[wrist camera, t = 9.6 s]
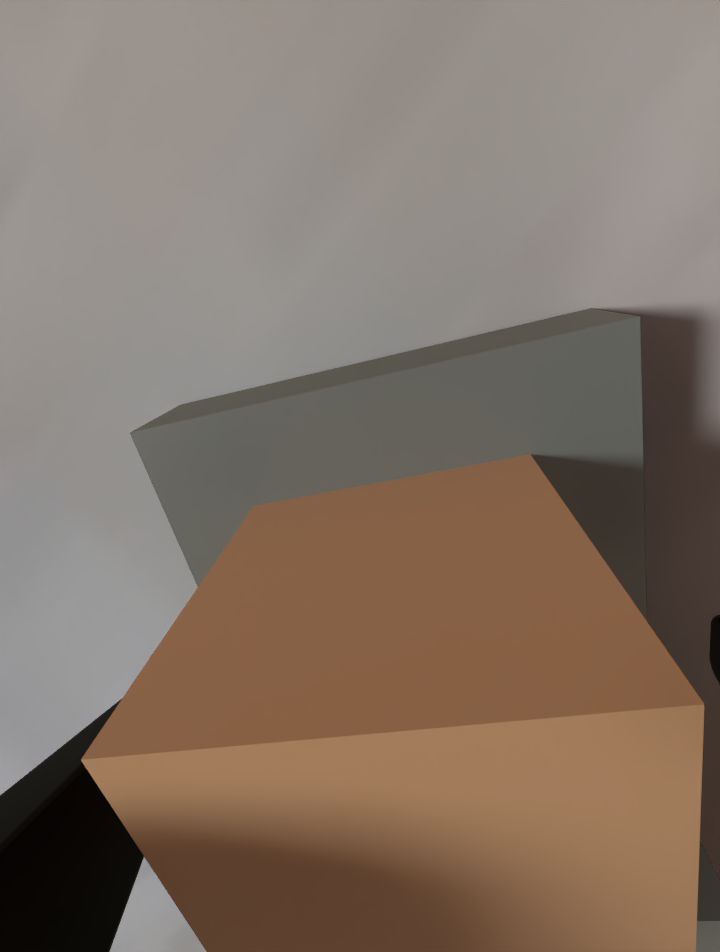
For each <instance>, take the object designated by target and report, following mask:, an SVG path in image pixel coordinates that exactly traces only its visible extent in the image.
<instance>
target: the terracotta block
mask: <svg viewBox="0 0 720 952" xmlns="http://www.w3.org/2000/svg"><path fill="white" fill-rule="evenodd" d="M703 733H704V703H703V701H702V700H701V699H700V697H699V696H698V694H697V693H696V691H695V690H694V688H693V687H692V686H691V684H690V683H689V681H688V680H687V678H686V677H685V676H684V674H683V673H682V671H681V670H680V668H679V667H678V665H677V664H676V663H675V661H674V660H673V658H672V657H671V655H670V654H669V653H668V651H667V650H666V648H665V647H664V645H663V644H662V643H661V641H660V640H659V638H658V637H657V635H656V634H655V632H654V631H653V630H652V628H651V627H650V625H649V624H648V622H647V621H646V620H645V618H644V617H643V615H642V614H641V612H640V611H639V610H638V608H637V607H636V605H635V604H634V602H633V601H632V599H631V598H630V597H629V595H628V594H627V592H626V591H625V589H624V588H623V587H622V585H621V584H620V582H619V581H618V579H617V578H616V576H615V575H614V574H613V572H612V571H611V569H610V568H609V566H608V565H607V564H606V562H605V561H604V559H603V558H602V556H601V555H600V554H599V552H598V551H597V549H596V548H595V546H594V545H593V543H592V542H591V541H590V539H589V538H588V536H587V535H586V533H585V532H584V531H583V529H582V528H581V526H580V525H579V523H578V522H577V521H576V519H575V518H574V516H573V515H572V513H571V512H570V510H569V509H568V508H567V506H566V505H565V503H564V502H563V500H562V499H561V498H560V496H559V495H558V493H557V492H556V490H555V489H554V487H553V486H552V485H551V483H550V482H549V480H548V479H547V477H546V476H545V475H544V473H543V472H542V470H541V469H540V467H539V466H538V465H537V463H536V462H535V460H534V459H533V457H532V456H531V454H530V455H524V456H519V457H514V458H508V459H503V460H497V461H492V462H487V463H481V464H476V465H471V466H465V467H460V468H455V469H449V470H444V471H439V472H433V473H428V474H422V475H417V476H412V477H406V478H401V479H396V480H390V481H385V482H380V483H374V484H369V485H364V486H358V487H353V488H347V489H342V490H337V491H331V492H326V493H321V494H315V495H310V496H305V497H299V498H294V499H289V500H283V501H278V502H273V503H267V504H262V505H256V506H253V507H252V509H251V510H250V512H249V513H248V515H247V516H246V518H245V519H244V521H243V522H242V523H241V525H240V526H239V528H238V529H237V531H236V532H235V534H234V535H233V537H232V538H231V540H230V541H229V543H228V544H227V546H226V547H225V548H224V550H223V551H222V553H221V554H220V556H219V557H218V559H217V560H216V562H215V563H214V565H213V566H212V568H211V569H210V571H209V572H208V573H207V575H206V576H205V578H204V579H203V581H202V582H201V584H200V585H199V587H198V588H197V590H196V591H195V593H194V594H193V595H192V597H191V598H190V600H189V601H188V603H187V604H186V606H185V607H184V609H183V610H182V612H181V613H180V615H179V616H178V618H177V619H176V620H175V622H174V623H173V625H172V626H171V628H170V629H169V631H168V632H167V634H166V635H165V637H164V638H163V640H162V641H161V643H160V644H159V645H158V647H157V648H156V650H155V651H154V653H153V654H152V656H151V657H150V659H149V660H148V662H147V663H146V665H145V666H144V668H143V669H142V670H141V672H140V673H139V675H138V676H137V678H136V679H135V681H134V682H133V684H132V685H131V687H130V688H129V690H128V691H127V693H126V694H125V695H124V697H123V698H122V700H121V701H120V703H119V704H118V706H117V707H116V709H115V710H114V712H113V713H112V715H111V716H110V718H109V719H108V720H107V722H106V723H105V725H104V726H103V728H102V729H101V731H100V732H99V734H98V735H97V737H96V738H95V740H94V741H93V743H92V744H91V745H90V747H89V748H88V750H87V751H86V753H85V754H84V756H83V757H82V759H81V761H82V763H83V764H84V766H85V767H86V769H87V770H88V772H89V773H90V775H91V776H92V778H93V779H94V781H95V782H96V784H97V785H98V787H99V788H100V790H101V791H102V793H103V794H104V796H105V798H106V799H107V801H108V802H109V804H110V805H111V807H112V808H113V810H114V811H115V813H116V814H117V816H118V817H119V819H120V820H121V822H122V823H123V825H124V826H125V828H126V829H127V831H128V832H129V834H130V836H131V837H132V839H133V840H134V842H135V843H136V845H137V846H138V848H139V849H140V851H141V852H142V854H143V855H144V857H145V858H146V860H147V861H148V863H149V864H150V866H151V867H152V869H153V871H154V872H155V874H156V875H157V877H158V878H159V880H160V881H161V883H162V884H163V886H164V887H165V889H166V890H167V892H168V893H169V895H170V896H171V898H172V899H173V901H174V902H175V904H176V906H177V907H178V909H179V910H180V912H181V913H182V915H183V916H184V918H185V919H186V921H187V922H188V924H189V925H190V927H191V928H192V930H193V931H194V933H195V934H196V936H197V937H198V939H199V941H200V942H201V944H202V945H203V947H204V948H205V950H206V951H207V952H696V932H697V903H698V875H699V847H700V818H701V790H702V761H703Z"/></svg>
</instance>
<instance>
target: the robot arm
mask: <svg viewBox="0 0 720 952" xmlns="http://www.w3.org/2000/svg"><path fill="white" fill-rule="evenodd" d="M710 663H711V667H712V670H713V672H714V674H715V676H716V678H717V680H718V682H719V683H720V615H717V616H714V617H713V619H712V621H711V634H710ZM121 700H122V699H121ZM121 700H120V701H121ZM120 701H118V702H117V703H116V704H115V705H113V706H112V707H111V708H110V709H108V710H107V711H106V712H105V713H103V714H102V715H101V716H99V717H98V718H97V719H96V720H94V721H93V722H92V723H91V724H89V725H88V726H87V727H86V728H84V729H83V730H82V731H81V732H79V733H78V734H77V735H76V736H74V737H73V738H72V739H71V740H69V741H68V742H67V743H66V744H64V745H63V746H62V747H61V748H59V749H58V750H57V751H56V752H54V753H53V754H52V755H51V756H49V757H48V758H47V759H46V760H44V761H43V762H42V763H41V764H39V765H38V766H37V767H35V768H34V769H33V770H32V771H30V772H29V773H28V774H27V775H25V776H24V777H23V778H22V779H20V780H19V781H18V782H17V783H15V784H14V785H13V786H12V787H10V788H9V789H8V790H7V791H5V792H4V793H3V794H2V795H0V952H109V951H110V949H111V946H112V943H113V940H114V938H115V935H116V932H117V929H118V927H119V924H120V921H121V918H122V915H123V913H124V910H125V907H126V904H127V902H128V899H129V896H130V893H131V891H132V888H133V885H134V882H135V880H136V877H137V874H138V871H139V869H140V866H141V863H142V860H143V858H144V855H143V854H142V852H141V851H140V849H139V848H138V846H137V845H136V843H135V842H134V840H133V839H132V837H131V836H130V834H129V832H128V831H127V829H126V828H125V826H124V825H123V823H122V822H121V820H120V819H119V817H118V816H117V814H116V813H115V811H114V810H113V808H112V807H111V805H110V804H109V802H108V801H107V799H106V798H105V796H104V794H103V793H102V791H101V790H100V788H99V787H98V785H97V784H96V782H95V781H94V779H93V778H92V776H91V775H90V773H89V772H88V770H87V769H86V767H85V766H84V764H83V763H82V761H81V759H82V757H83V756H84V754H85V753H86V751H87V750H88V748H89V747H90V745H91V744H92V743H93V741H94V740H95V738H96V737H97V735H98V734H99V732H100V731H101V729H102V728H103V726H104V725H105V723H106V722H107V720H108V719H109V718H110V716H111V715H112V713H113V712H114V710H115V709H116V707H117V706H118V704H119V703H120Z"/></svg>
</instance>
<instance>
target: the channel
mask: <svg viewBox="0 0 720 952" xmlns="http://www.w3.org/2000/svg"><path fill="white" fill-rule="evenodd" d="M130 434H131V436H132V439H133V441H134V443H135V445H136V448H137V450H138V452H139V455H140V457H141V459H142V461H143V464H144V466H145V468H146V470H147V473H148V475H149V477H150V479H151V482H152V484H153V486H154V488H155V491H156V493H157V495H158V498H159V500H160V502H161V504H162V507H163V509H164V511H165V513H166V516H167V518H168V520H169V522H170V525H171V527H172V529H173V531H174V534H175V536H176V538H177V541H178V543H179V545H180V547H181V550H182V552H183V554H184V556H185V559H186V561H187V563H188V565H189V568H190V570H191V572H192V575H193V577H194V579H195V581H196V584H197V586H198V587H199V585H200V584H201V582H202V581H203V579H204V578H205V576H206V575H207V573H208V572H209V571H210V569H211V568H212V566H213V565H214V563H215V562H216V560H217V559H218V557H219V556H220V554H221V553H222V551H223V550H224V548H225V547H226V546H227V544H228V543H229V541H230V540H231V538H232V537H233V535H234V534H235V532H236V531H237V529H238V528H239V526H240V525H241V523H242V522H243V521H244V519H245V518H246V516H247V515H248V513H249V512H250V510H251V509H252V507H253V506H256V505H262V504H267V503H273V502H278V501H283V500H289V499H294V498H299V497H305V496H310V495H315V494H321V493H326V492H331V491H337V490H342V489H347V488H353V487H358V486H364V485H369V484H374V483H380V482H385V481H390V480H396V479H401V478H406V477H412V476H417V475H422V474H428V473H433V472H439V471H444V470H449V469H455V468H460V467H465V466H471V465H476V464H481V463H487V462H492V461H497V460H503V459H508V458H514V457H519V456H524V455H530V454H531V456H532V457H533V459H534V460H535V462H536V463H537V465H538V466H539V467H540V469H541V470H542V472H543V473H544V475H545V476H546V477H547V479H548V480H549V482H550V483H551V485H552V486H553V487H554V489H555V490H556V492H557V493H558V495H559V496H560V498H561V499H562V500H563V502H564V503H565V505H566V506H567V508H568V509H569V510H570V512H571V513H572V515H573V516H574V518H575V519H576V521H577V522H578V523H579V525H580V526H581V528H582V529H583V531H584V532H585V533H586V535H587V536H588V538H589V539H590V541H591V542H592V543H593V545H594V546H595V548H596V549H597V551H598V552H599V554H600V555H601V556H602V558H603V559H604V561H605V562H606V564H607V565H608V566H609V568H610V569H611V571H612V572H613V574H614V575H615V576H616V578H617V579H618V581H619V582H620V584H621V585H622V587H623V588H624V589H625V591H626V592H627V594H628V595H629V597H630V598H631V599H632V601H633V602H634V604H635V605H636V607H637V608H638V610H639V611H640V612H641V614H642V615H643V617H644V618H645V620H646V621H647V592H646V548H645V504H644V461H643V417H642V374H641V330H640V316H635V315H629V314H623V313H616V312H610V311H604V310H598V309H592V308H591V309H586V310H582V311H578V312H574V313H569V314H565V315H561V316H557V317H552V318H548V319H544V320H540V321H535V322H531V323H527V324H523V325H518V326H514V327H510V328H506V329H501V330H497V331H493V332H489V333H484V334H480V335H476V336H472V337H467V338H463V339H459V340H455V341H450V342H446V343H442V344H438V345H433V346H429V347H425V348H421V349H416V350H412V351H408V352H404V353H399V354H395V355H391V356H387V357H382V358H378V359H374V360H370V361H365V362H361V363H357V364H353V365H348V366H344V367H340V368H335V369H331V370H327V371H323V372H318V373H314V374H310V375H306V376H301V377H297V378H293V379H289V380H284V381H280V382H276V383H272V384H267V385H263V386H259V387H255V388H250V389H246V390H242V391H238V392H233V393H229V394H225V395H221V396H216V397H212V398H208V399H204V400H199V401H195V402H191V403H187V404H182V405H179V406H177V407H176V408H174V409H172V410H170V411H168V412H167V413H165V414H163V415H161V416H159V417H158V418H156V419H154V420H152V421H150V422H149V423H147V424H145V425H143V426H141V427H140V428H138V429H136V430H134V431H132V432H131V433H130ZM696 952H720V879H719V877H718V875H717V873H716V871H715V869H714V867H713V865H712V863H711V862H710V860H709V858H708V856H707V854H706V852H705V850H704V848H703V846H702V844H701V842H700V847H699V875H698V903H697V932H696Z"/></svg>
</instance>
